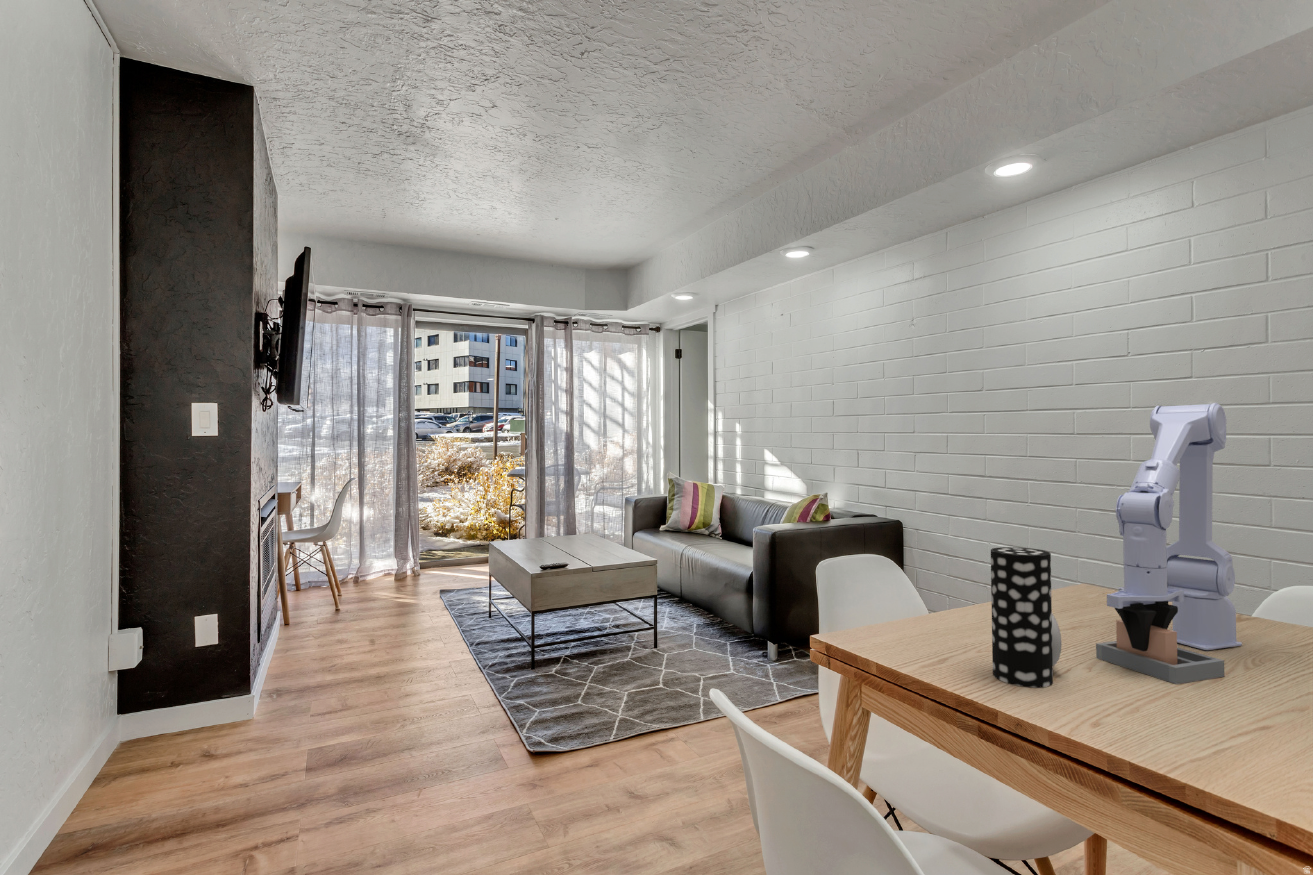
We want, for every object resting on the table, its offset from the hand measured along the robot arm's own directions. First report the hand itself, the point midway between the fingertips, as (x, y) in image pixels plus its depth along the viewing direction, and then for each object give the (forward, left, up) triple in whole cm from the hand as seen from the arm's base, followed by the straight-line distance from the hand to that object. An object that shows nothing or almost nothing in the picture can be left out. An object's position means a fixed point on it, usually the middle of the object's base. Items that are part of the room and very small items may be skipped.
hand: (1146, 648), depth 107 cm
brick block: (0, 0, -3) cm, 3 cm away
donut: (+15, -6, -3) cm, 17 cm away
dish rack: (-2, 0, -3) cm, 4 cm away
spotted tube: (+23, -3, -3) cm, 23 cm away
